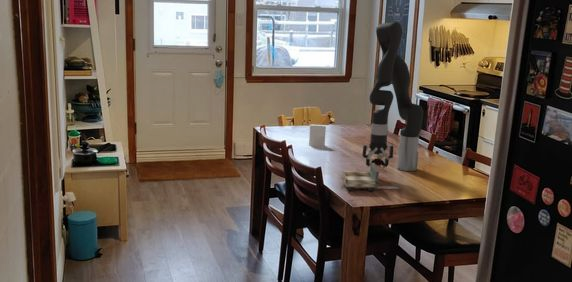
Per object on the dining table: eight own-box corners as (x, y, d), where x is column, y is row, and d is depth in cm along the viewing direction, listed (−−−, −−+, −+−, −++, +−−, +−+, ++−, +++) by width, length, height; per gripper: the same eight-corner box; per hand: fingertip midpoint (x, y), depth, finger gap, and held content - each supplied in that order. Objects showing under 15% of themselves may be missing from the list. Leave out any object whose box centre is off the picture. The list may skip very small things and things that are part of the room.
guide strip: (397, 187, 264) (397, 186, 264) (398, 189, 261) (399, 188, 261) (340, 185, 263) (340, 185, 263) (340, 187, 260) (341, 187, 260)
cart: (371, 183, 269) (373, 163, 266) (377, 192, 256) (378, 171, 254) (341, 182, 268) (342, 162, 266) (345, 191, 255) (346, 170, 253)
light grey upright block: (324, 144, 340) (326, 124, 337) (324, 148, 331) (325, 127, 329) (309, 143, 341) (310, 123, 338) (308, 147, 332) (309, 126, 329)
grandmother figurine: (368, 177, 274) (376, 151, 272) (365, 174, 278) (372, 149, 275) (382, 180, 277) (390, 154, 274) (379, 177, 280) (386, 152, 278)
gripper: (392, 131, 276) (390, 164, 280) (362, 130, 276) (360, 163, 280) (396, 134, 269) (393, 168, 273) (365, 134, 268) (363, 168, 272)
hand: (376, 166), depth 276 cm, fingers closed on grandmother figurine, 8 cm apart
